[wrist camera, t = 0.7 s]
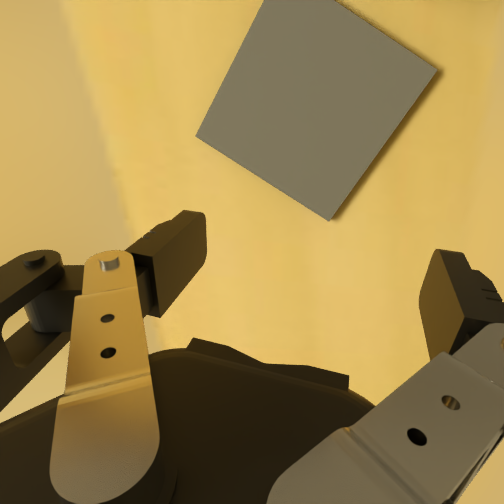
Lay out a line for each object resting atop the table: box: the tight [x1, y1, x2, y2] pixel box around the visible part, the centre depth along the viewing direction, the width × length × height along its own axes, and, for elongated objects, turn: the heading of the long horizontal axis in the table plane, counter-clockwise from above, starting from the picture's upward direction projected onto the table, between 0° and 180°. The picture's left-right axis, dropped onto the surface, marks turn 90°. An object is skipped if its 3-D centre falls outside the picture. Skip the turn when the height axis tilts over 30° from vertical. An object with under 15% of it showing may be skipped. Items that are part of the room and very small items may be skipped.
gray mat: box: [196, 0, 437, 221], centre depth 28 cm, size 14×14×1 cm
